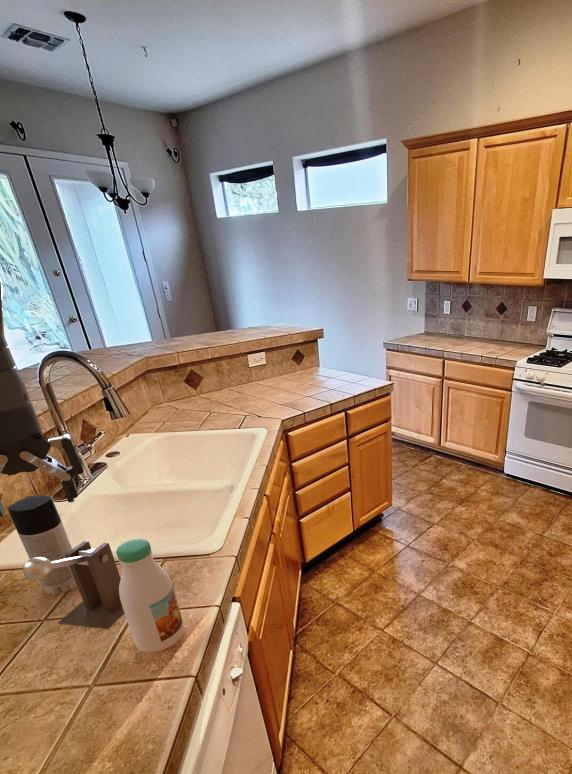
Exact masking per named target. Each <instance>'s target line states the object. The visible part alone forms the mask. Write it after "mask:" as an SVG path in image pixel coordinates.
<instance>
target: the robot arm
mask: <svg viewBox="0 0 572 774" xmlns="http://www.w3.org/2000/svg"><path fill="white" fill-rule="evenodd" d="M51 447H54V448H56V449H57V450H58V451H59V452H61V453H62V452H63V453H65V455H66V457H67V459H68V461H69V464H70V466H68V467H67V466H65V465H63V464H62V463H60V462H59V461H58V460H57V459H55V458H54V457H52V456H50V454H49V452H50V450H51ZM38 469H41V470H42V471H44V472H46V473H47V474H49V475H50V474H51V475H53V476H55V477H56V478H58V479H60V484H61V486H62V489H63V491H64V494H65V497H66V499H67V503H74V502H75V499H76V498H78V492H79V491H78V487H77V485H76V481H75V479H74V477H76V476H79V475H82V474H83V473H84V469H85V467H84V463H83V461H82V458H81V456H80V454H79V450H78V448H77V447H76V444H75V441H74V439H73V437H72V435H71V434H70V433H63V434H62V435H61V436H57V437H53V438H48V437H47V436H45V434H44V433H43V431H42V428H41V424H40V422H39V419H38V416H37V414H36V411H35V408H34V406H33V403H32V401H31V397H30V395H29V393H28V389H27V387H26V384H25V382H24V380H23V379H22V376H21V375H20V373H19V372H18V368H17V367H16V364H15V362H14V359H13V357H12V354H11V350H10V348H9V344H8V342H7V339H6V336H5V326H4V311H3V285H2V279H1V277H0V474H2V475H7V476H15V475H17V474H21V473H32V472H36V471H37V470H38ZM5 514H6V509H5V507H4V505H3V503H2V500H1V499H0V518H3V517H5Z"/></svg>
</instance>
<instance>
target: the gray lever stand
mask: <svg viewBox="0 0 572 774" xmlns="http://www.w3.org/2000/svg"><path fill="white" fill-rule="evenodd" d="M87 549H92V546H91V542H90V541H88V540H83V541H82V542H80V543H79V544H78V545H76V546H75V547H72V550H70V551H69V552H68V553H66V554H65V557H66V558H71V557H76V556H78V554H79V551H82V550H87ZM94 549H95V550H94V551H92V552H91V553H90V554H88V555H87V556H86V559H87V562H88V565H79V564H78V563H77V564H72V565H69V567H70V569H71V572H72V574H73V577H74V579H75V582H76V584H77V587H76V588H77V590H78V591H79V594H80V597H81V599H82V601H81V602H80V603H79V604H78V605H77V606H75V607H74V608H73V609H72V610H71V611H70V612H69V613H67V614H66V615H65V616H64V617H63V618H62V619H60V620H59V621H58V622H57V624H61V625H69V626H78V627H85V628H94V629H102V630H103V629H104V630H109V629H110V628H111V627H113V625H114V624H115V623H116V622H117V621H118V620H120V618H121V617H122V616H123V615H125V613H124V610H123V607H122V604H121V600H120V595H119V585H120V581H121V575H120V572H119V569H118V565H117V563H116V560H115V557H114V554H113V551H112V549H111V545H110V543H109V542H102V543H101V544H100V545H99V546H98V547H96V548H94Z"/></svg>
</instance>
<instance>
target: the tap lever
mask: <svg viewBox="0 0 572 774" xmlns="http://www.w3.org/2000/svg"><path fill="white" fill-rule="evenodd" d="M95 549H96V548H91V549H87V550H82V551H79V554H78V556H76V557H71V558H66V559H62V560H57V561H52V562H51V561H50V560H48V559H47V558H44V557H35V558H32V559H28V560H27V561H26V562H25V563H24V565H23V567H22V574H23V575H24V577H25V578H27V579H29V580H31V581H39V580H40V579H43V578H46V577H47V576H48V575H49V574H50V573H51V571H52V569H55V568H59V567H64V566H68V565H72V564H77V563H78V564H79V565H88V562H87V559H86V556H87V555H88V554H90V553H91V552H92V551H94V550H95Z"/></svg>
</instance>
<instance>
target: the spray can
mask: <svg viewBox="0 0 572 774" xmlns="http://www.w3.org/2000/svg"><path fill="white" fill-rule="evenodd" d="M53 499H54V498H52V497H51V496H50V495H47V494H46V495H44V494H39V495H38V494H37V495H31V496H27V497H25V498H21V499H19V500H17V501H15V502H14V503H12V504H9V506H8V507H7V510H8V514H9V515H10V518H11V521H12V523H13V525H14V528H15V530H16V532H17V534H18V536H19V539H20V541H21V543H22V545H23V547H24V550H25V552H26V554H27V556H28V558H29V559H28V560H30V559H32V558H35V557H44V558H47V559H48V560H50V561H51V562H52V561H57V560H62V559H66V557H65V554H66V553H68V552H69V551H70V550H72V549H73V547H72V543H71V542H70V539H69V536H68V534H67V532H66V529H65V526H64V524H63V521H62V519H61V516H60V514H59V512H58V510H57V507H56V504H55V502H54V500H53ZM38 581H39V583H40V585H41V588H42V590H43V592H44V593H46V594H47V595H60V594H63V593H66V592H69V591H72V590H73V589H75V588H78V587H77V584H76V582H75V579H74V577H73V574H72V572H71V569H70V567H69V565H68V566H64V567H59V568H55V569H52V571H51V573H50V574H49V575H48V576H47V577H46V578H43V579H40V580H38Z"/></svg>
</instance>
